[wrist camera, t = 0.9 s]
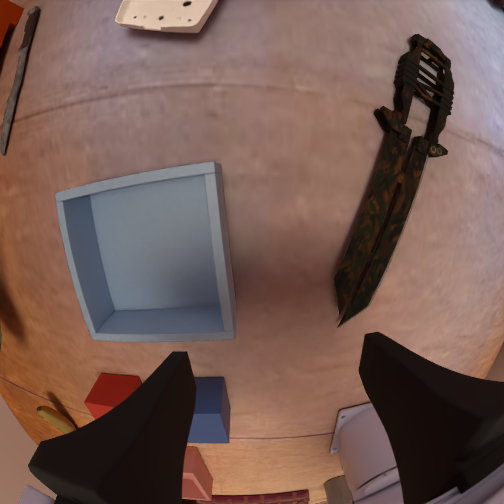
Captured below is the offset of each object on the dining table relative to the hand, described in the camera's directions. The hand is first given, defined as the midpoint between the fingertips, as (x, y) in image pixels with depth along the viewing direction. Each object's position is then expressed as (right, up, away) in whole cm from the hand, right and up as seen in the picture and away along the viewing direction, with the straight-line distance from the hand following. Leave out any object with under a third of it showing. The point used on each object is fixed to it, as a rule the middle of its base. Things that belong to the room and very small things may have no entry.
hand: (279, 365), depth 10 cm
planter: (+13, -32, +20) cm, 40 cm away
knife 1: (-23, +21, +3) cm, 32 cm away
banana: (-26, -18, +14) cm, 34 cm away
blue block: (-5, -9, +12) cm, 16 cm away
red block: (-13, -9, +12) cm, 20 cm away
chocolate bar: (-1, -38, +21) cm, 44 cm away
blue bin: (-8, +5, +8) cm, 12 cm away
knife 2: (+10, +10, +7) cm, 16 cm away
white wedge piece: (-6, +23, -1) cm, 23 cm away
